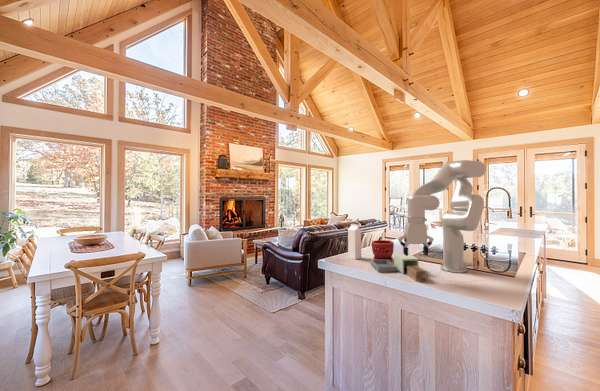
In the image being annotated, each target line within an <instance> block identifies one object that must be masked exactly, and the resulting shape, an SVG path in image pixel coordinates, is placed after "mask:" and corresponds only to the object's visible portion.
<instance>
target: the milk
mask: <svg viewBox="0 0 600 391" xmlns="http://www.w3.org/2000/svg"><path fill="white" fill-rule="evenodd" d="M347 244H348V245H347V247H348V249H347V253H348V255H347V256H348V257H347V258H349V259H351V260H358V259H362V229H361V228H360V227H359V225H358V224H354V223H351V224H350V226H349V227H348V229H347Z"/></svg>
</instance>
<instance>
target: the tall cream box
mask: <svg viewBox="0 0 600 391" xmlns="http://www.w3.org/2000/svg"><path fill="white" fill-rule="evenodd" d="M393 264H394V265H395V266H397V272H399V273H401V274H402V275H404V274H405V268H407V266H416V265H417V266H418V267H420V266H419V258H418V257H416V256H414V255H412V254H410V253H409V252H408V256H406V255H404V253H393Z"/></svg>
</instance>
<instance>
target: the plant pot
mask: <svg viewBox="0 0 600 391" xmlns="http://www.w3.org/2000/svg"><path fill="white" fill-rule="evenodd" d="M394 243H395V242H394V241H392V240H381V239H379V240H372V241H371V250H372V253H373V260H385V259H387V260H389V261H390V262H392V261H394V256H393V255H394V248H395V247H394V246H395V244H394Z"/></svg>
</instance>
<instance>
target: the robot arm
mask: <svg viewBox="0 0 600 391" xmlns="http://www.w3.org/2000/svg"><path fill="white" fill-rule="evenodd" d="M486 172H487V167H486V164H485V163H484V162H482V161H481V160H469V159H461V160H460V159H459V160H453V161H447V162H445V163H443V165H442V166H441V168H440V169H439V170H438V171H437V173H436V174H435V175H434V177H433V178H432V179H431V180H429V181H427V182H426V183H424V184H421V185H420V186H419V187H417V189H416V190H414V192H413V193H412V195H410V196H408V197H407V222H406V223H405V225H404V231H403V232H404V233H403V235H402V236H400V237H398V238H397V241H398V242H399V244H400V246H402V247H403V248H402V249H403V250H402V251H403V253H404V255H406V256H408V253H409V248H408V246H409V245H423V247H422V250H423V251H422V253H423V254H422V255H424V256H426V257H427V256H428V255H429V248H430V246H431V245H432V243H433V242H434V237H432V236H430V235H428V231H427V225H426V222H427V221H428V219H427V218H426V217H425V211H435V210H436V209H438V208H439V207H440V205H441V204H440V199H439V198H438V197H437V196H435V195H434V194H437V193H441V192H443V191H445V190H447V189H449V187H450V186H451V185H452V183H453V182H454V190H453V193H452V196H451V199H450V203H449V207H450V209H451V210H453V211H446V212H444V213H443V214H442V215H441V217H440V218H441V219H440V222H441V226H442V234H443V235H442V236H443V238H442V241H443V243H442V244H443V247H442V250H443V252H442V253H443V254H442V255H443V264H441V265H440V269H441V270H442V271H444V272H445V271H446V272H450V273H459V274H460V273H461V274H462V273H463V274H464V273H467V272H468V268H467V267H474V264H473V262H467V261H465V258H464V255H465V253H464V252H465V251H464V248H465V246H464V245H465V244H464V241H465V238H464V235H463V234H462V232H463V231H464V232H473V231H474V232H475V230H477V229H478V227H479V224H480V221H481V218H482V214H483V212H484V207H485V201H484V198H483V197H482V196H481V195H480V194H474V193H473V191H474V189H473V185H472V183H471V182H470V181H469V178H470V179H471V178H481V177H483V176H485V175H486ZM403 241H404V242H403ZM403 253H402V254H403Z"/></svg>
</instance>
